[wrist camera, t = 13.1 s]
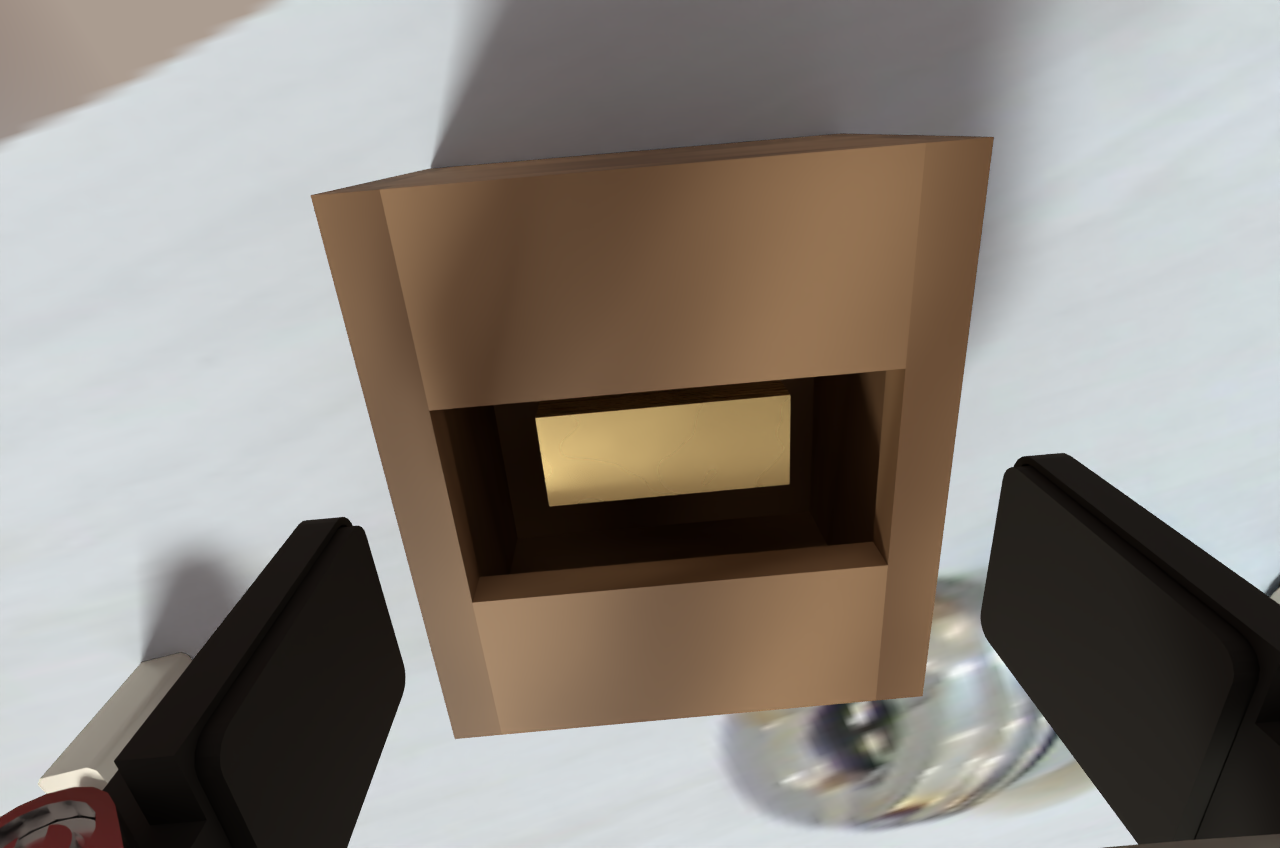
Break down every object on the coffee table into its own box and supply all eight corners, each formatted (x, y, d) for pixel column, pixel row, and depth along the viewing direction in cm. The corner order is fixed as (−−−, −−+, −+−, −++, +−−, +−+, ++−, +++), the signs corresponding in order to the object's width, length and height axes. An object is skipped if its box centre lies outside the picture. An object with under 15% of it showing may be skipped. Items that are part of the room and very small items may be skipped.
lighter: (136, 663, 22) (-102, 933, 14) (185, 650, 22) (-29, 916, 14) (244, 804, 25) (91, 1089, 17) (288, 794, 25) (153, 1076, 17)
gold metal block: (743, 325, 18) (790, 394, 13) (744, 395, 18) (789, 484, 14) (554, 342, 18) (535, 418, 13) (564, 412, 18) (549, 506, 14)
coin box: (841, 133, 16) (994, 136, 10) (825, 520, 21) (922, 695, 14) (429, 169, 16) (310, 195, 10) (502, 549, 21) (455, 738, 14)
